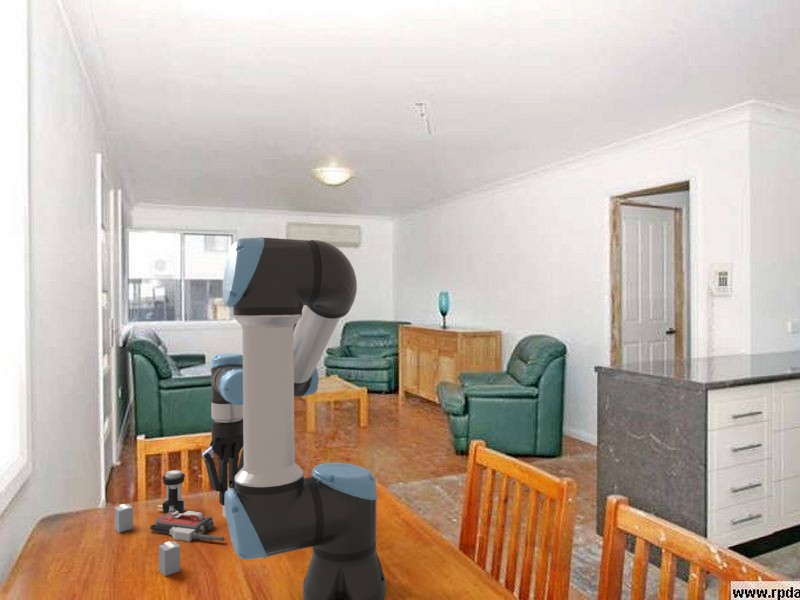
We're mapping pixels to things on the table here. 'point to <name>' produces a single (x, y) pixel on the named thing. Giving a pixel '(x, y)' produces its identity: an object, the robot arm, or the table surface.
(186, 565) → the table surface
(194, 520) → the walkie-talkie
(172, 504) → the push button
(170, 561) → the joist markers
